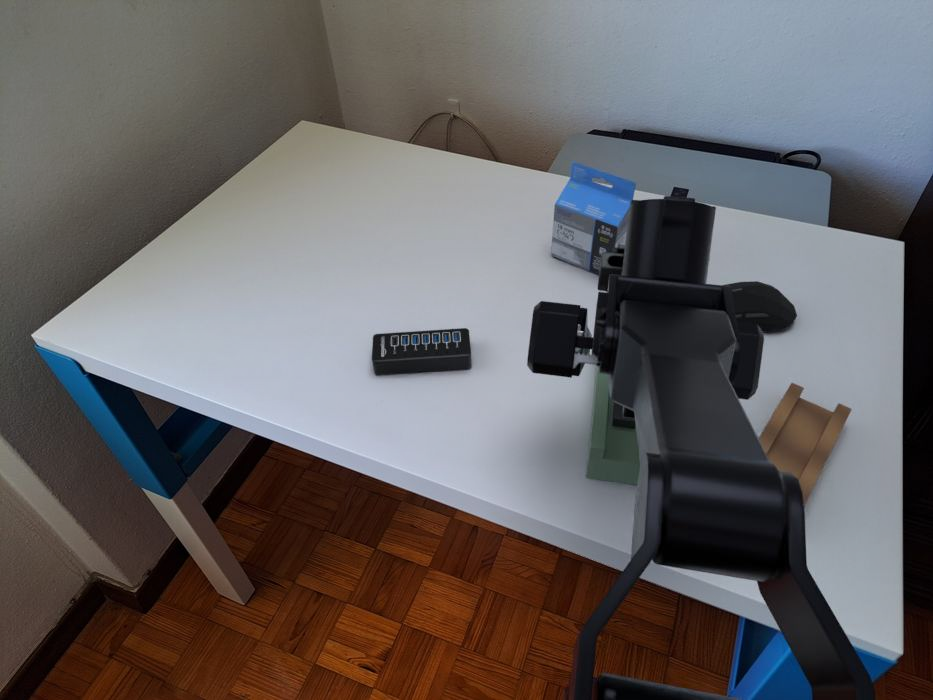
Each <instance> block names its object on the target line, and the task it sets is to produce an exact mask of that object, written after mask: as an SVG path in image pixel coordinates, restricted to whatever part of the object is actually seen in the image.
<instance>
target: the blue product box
mask: <svg viewBox="0 0 933 700" xmlns="http://www.w3.org/2000/svg"><path fill="white" fill-rule="evenodd" d="M592 179H596V180H600V179H603V180H604V182H606V183H609V184H611V185H612V187H610V186H607V185H603V184H601V183H598V182H595V181H593V180H592ZM636 186H637V181H634V180H631V179H627V178H624V177H621V176H618V175H616V174H612V173H609V172H606V171H603V170H601V169H597V168H594V167H591V166H588V165H585V164H582V163H579V162H577V161H574V160H572V161H571V169H570V176H569V180H568V181H567V182H566V184H565V186H564V188H563V189H562V191H561V193H560V195H559V196H558V198H557V200H556V201H555V203H554V209H553V221H552V222H553V223H552V235H551V249H550V250H551V253H550V256H551V257H554V258H556V259H559V260H561V261H563V262H565V263H568V264H570V265H573V266H575V267H578V268H581V269H583V270H586V271H588V272H591V273H593V274H596V275H598V276H599V271H600V262H601V255H602V253H603V252H609V253H612V252H613V247H617V248H618V245H625V242H626V234H627V226H628V218H629V209H630V202H631V200H634V196H635V191H636Z"/></svg>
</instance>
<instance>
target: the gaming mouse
mask: <svg viewBox="0 0 933 700" xmlns="http://www.w3.org/2000/svg"><path fill="white" fill-rule="evenodd" d="M722 285H723V286H730V288H731V294H732V299H733V305H734V310H735V316H736V321H737V322H740V323H749V324H758V326H759V327H760V328H761V330H762V331H763V333H765V332H766V333H770V332H771V333H772V332H776V331H782V330H786V329H788V328H789V327H791V326H792V325H793V324H794V322H795V320H796V319H797V318H798V313H797V311H796V308H795V305H794V304H793V303H792V302H791V301H790V300H789V298H787V297H786V296H785V295H784V294H783V293H782V292H781V291H780V290H779V289H778V288H776V287H774V286H773V285H771V284H769V283H765V282H762V281H761V282H760V281H759V280H756V281H738V282H732V283H726V284H722Z"/></svg>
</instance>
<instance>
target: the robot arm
mask: <svg viewBox="0 0 933 700" xmlns="http://www.w3.org/2000/svg"><path fill="white" fill-rule="evenodd" d="M716 210H717V207H716V206H712V205H710V204H706V203H703V202H698V201H696V198H695V197H682V196H673V195H672V196H671V195H665V196H663V198H650V199H633V200H631V202H630V209H629V218H628V226H627V234H626V242H625V245H618V248H617V247H613V252H612V253H609V252H603V253H602V255H601V262H600V271H599V275H598V281H597V289H596V290H598V292H597V299H596V307H595V317H594V326H593V336H592V333H591V330H590V328H589V325H588V324H589V322H588V318H589V317H588V315H589V314H588V311H589V310H588V308H587V307H581V306H582V305H581V304H580V305H579V304H573V303H563V302H556V301H555V302H553V301H547V300H546V301H544V300H540V302H538V303H537V304H536V305H534V307H533V311H532V316H531V317H532V319H531V325H530V333H529V334H530V335H529V342H528V352H527V358H526V359H527V362H526V366H527V367H528V369H529V370H530V371H531V373H533V374H540V375H546V376H547V375H548V376H555V377H563V378H573V377H574V376H575V377H580V376H581V373H582V371H583V369H584V367H585V365H595V366H596V365H597V366H600V367H599V374H608V375H609V392H610V398H611V399H612V400H613V402H615V403H617V404H619V405H621V406H623V416H624V417H626V418H633V419H635V423H636V432H637V441H638V451H639V460H640V471H639V477H638V483H637V485H636V491H635V499H634V510H633V511H634V512H633V522H632V537H631V539H632V540H631V551H630V561H629V562H628V563H627V565H626V566H625V567H624V569H623V570H622V572H621V573H620V574H619V576H618V577H617V578H616V580H615V581H614V583H613V584H612V586H610V588H609V590H608V591H607V592H606V594H605V595H604V596H603V598H602V599H601V601H600V602H599V603H598V605H597V606H596V608H595V609H594V610H593V612H592V613H591V615H590V616H589V617H588V619H587V620H586V622H585V623H584V624H583V626H582V628H581V629H580V631H579V633H578V634H577V637H576V639H575V642H574V645H573V651H572V662H571V672H570V673H569V677H568V684H567V685H566V686H564V688H563V692H562V700H744V699H743V698H737V697H732V696H728V695H727V696H726V695H722V694H717V693H711V692H707V691H701V690H697V689H691V688H685V687H680V686H676V685H670V684H664V683H660V682H654V681H649V680H645V679H639V678H634V677H628V676H623V675H618V674H613V673H608V672H602V673H600V674H599V675H598V676H594V675H595V665H596V652H597V641H598V638H599V636H600V634H601V632H602V631H604V628H605V627H606V626H607V624H608V623H609V622H610V620H611V619H612V617H613V616H614V614H615V613H616V612H617V610H618V609H619V608H620V606H621V604H622V603H623V602H624V600H625V599H626V597H627V596H628V594H629V593H630V592H631V590H632V589H633V588H634V586H635V585H636V583H637V582H638V580H639V579H640V578H641V576H642V575H643V573H644V572H645V570H646V569H647V568H648V566H649V565H650V563H651V562H653V563H654V564H655V565H658V566H664V567H670V568H676V569H682V570H687V571H693V572H700V573H705V574H706V573H707V574H712V575H717V576H725V577H731V578H737V579H743V580H749V581H755V582H756V584H757V587H758V590H759V594H760V596H761V597H762V599H763V601H764V603H765V604H766V606H767V608H768V610H769V612H770V614H771V615H772V617H773V619H774V621H775V623H776V625H777V627H778V628H779V630H780V633H781V634H782V636H783V638H784V640H785V642H786V643H787V645H788V647H789V650H791V652H792V654H793V656H794V658H795V659H796V662H797V664H798V666H799V667H800V669H801V671H802V673H803V675H804V677H805V678H806V681H807V683H808V685H809V686H810V689H811V700H877V696H876V690H875V687H874V684H873V680H872V677H871V675H870V673H869V671H868V670H867V668H866V667H865V665H864V662H863V661H862V660H861V658H860V656H859V654H858V652H857V651H856V649H855V647H854V645H853V644H852V642H851V640H850V639H849V637H848V635H847V634H846V632H845V630H844V629H843V626H842V625H841V624H840V622H839V620H838V618H837V617H836V615H835V613H834V612H833V609H832V608H831V606H830V605H829V602H827V599H826V598H825V596H824V594H823V592H822V591H821V589H820V587H819V586H818V584H817V582H816V580H815V579H814V577H813V576H812V574H811V572H810V570H809V568H808V563H807V562H808V561H807V560H808V559H807V537H806V535H807V534H806V513H805V505H804V502H803V493H802V490H801V487H800V484H799V481H798V479H797V478H796V477H795V476H794V475H793V474H792V473H788V472H781V471H779V470H778V469H777V468H776V466H775V465H774V464H772V463H771V462H770V460H769V458H768V456H767V454H766V452H765V450H764V448H763V446H762V444H761V442H760V440H759V436H758V434H757V432H756V430H755V428H754V426H753V424H752V422H751V421H750V419H749V416H748V415H747V413H746V410H745V409H744V407H743V405H742V403H741V401H740V400H747V401H748V400H750V399H751V398H752V397H753V396H754V395H755V394H756V392H757V390H758V388H759V381H760V373H761V366H762V358H763V351H764V344H765V336H764V332H763V331H762V330H761V328H760V327H759V326H758V324H749V323H740V322H737V321H736V316H735V310H734V305H733V299H732V294H731V288H730V286H723V285H724V284H722V285H721V284H714V283H713V284H712V283H707V282H708V281H707V280H708V273H709V265H710V257H711V250H712V241H713V235H714V234H713V233H714V225H715V218H716V212H717V211H716ZM590 353H591V354H590Z"/></svg>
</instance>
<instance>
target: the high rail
mask: <svg viewBox="0 0 933 700" xmlns="http://www.w3.org/2000/svg"><path fill="white" fill-rule="evenodd" d="M595 366H596V367H595V376H594V385H593V396H592V406H591V416H590V427H589V436H588V437H589V438H588V449H587V459H586V470H585V478H587V479H594V480H601V481H607V482H614V483H621V484H627V485H634V486H637V483H638V477H639V471H640V460H639V451H638V441H637V432H636V427H635V429H632V428H624V427H617V426H612V420H613V405H614V402H613V400H612V399H611V398H610V392H609V375H608V374H599V367H600V366H597V365H595Z"/></svg>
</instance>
